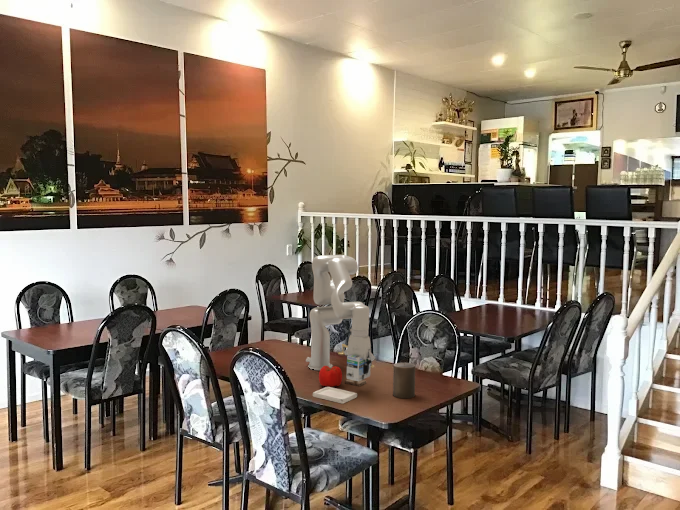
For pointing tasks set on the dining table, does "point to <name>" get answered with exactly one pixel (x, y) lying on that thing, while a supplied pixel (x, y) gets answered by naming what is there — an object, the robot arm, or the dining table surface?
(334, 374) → the tomato
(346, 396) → the platter
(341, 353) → the balance
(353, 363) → the light bulb box
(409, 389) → the pillar candle
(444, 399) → the dining table surface
